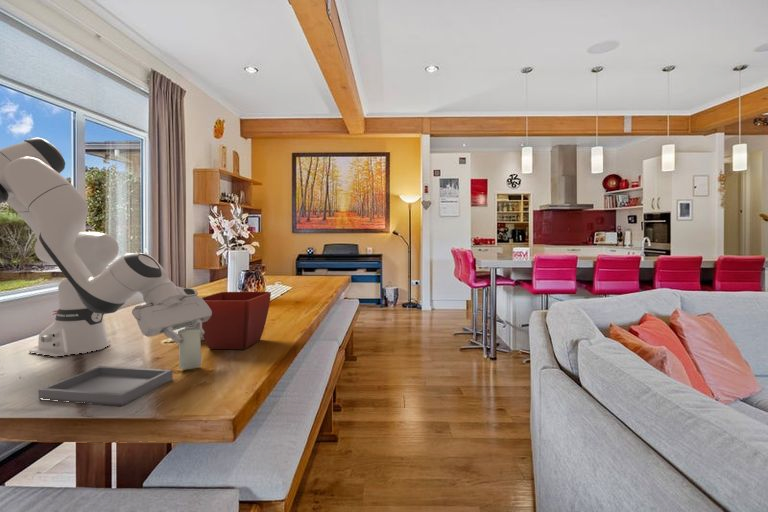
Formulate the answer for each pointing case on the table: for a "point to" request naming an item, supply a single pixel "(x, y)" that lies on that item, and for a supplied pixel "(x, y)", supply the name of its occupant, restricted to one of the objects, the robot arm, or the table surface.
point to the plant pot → (235, 319)
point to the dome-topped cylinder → (190, 348)
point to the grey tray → (107, 385)
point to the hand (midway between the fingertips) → (191, 338)
